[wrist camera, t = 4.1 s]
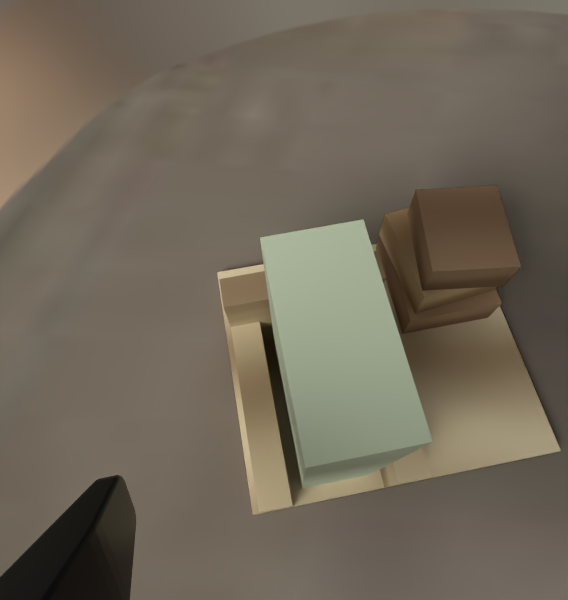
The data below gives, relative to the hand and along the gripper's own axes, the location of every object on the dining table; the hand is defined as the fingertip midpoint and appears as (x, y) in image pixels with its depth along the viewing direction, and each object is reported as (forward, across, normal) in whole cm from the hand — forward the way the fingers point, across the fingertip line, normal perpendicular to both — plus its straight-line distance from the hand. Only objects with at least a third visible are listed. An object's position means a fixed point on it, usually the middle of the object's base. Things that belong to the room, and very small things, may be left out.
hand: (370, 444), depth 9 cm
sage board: (+8, 0, +4) cm, 9 cm away
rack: (+9, -2, +3) cm, 10 cm away
